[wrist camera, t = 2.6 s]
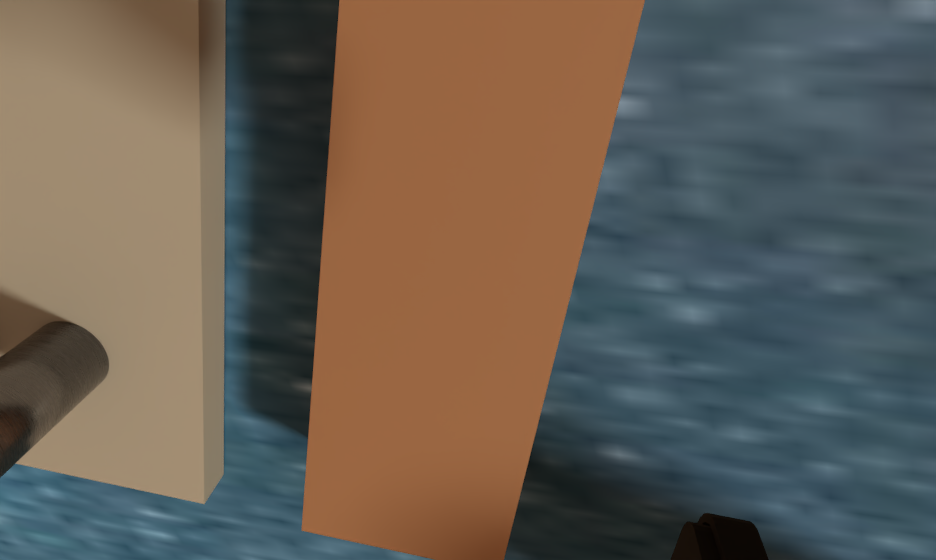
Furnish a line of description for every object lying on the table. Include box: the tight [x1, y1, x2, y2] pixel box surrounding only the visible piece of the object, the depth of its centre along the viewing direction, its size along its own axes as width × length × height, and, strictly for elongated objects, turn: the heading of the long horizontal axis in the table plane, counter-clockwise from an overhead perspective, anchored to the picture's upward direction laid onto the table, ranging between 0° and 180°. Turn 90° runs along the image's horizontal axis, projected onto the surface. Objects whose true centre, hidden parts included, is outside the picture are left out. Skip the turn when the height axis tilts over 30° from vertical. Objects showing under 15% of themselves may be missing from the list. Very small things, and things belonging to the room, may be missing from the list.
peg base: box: [0, 0, 226, 504], centre depth 19 cm, size 24×12×2 cm, turn 171°
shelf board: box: [302, 0, 645, 560], centre depth 18 cm, size 20×6×4 cm, turn 171°
